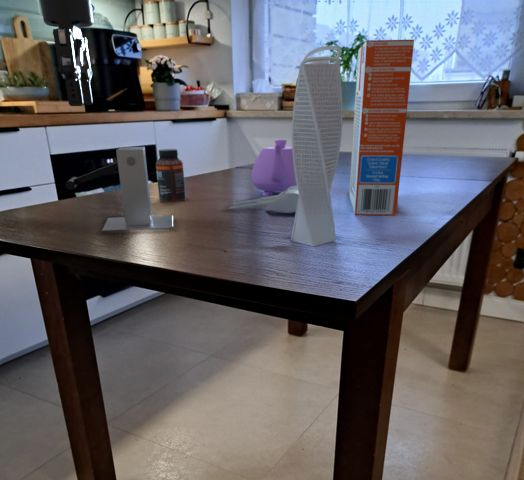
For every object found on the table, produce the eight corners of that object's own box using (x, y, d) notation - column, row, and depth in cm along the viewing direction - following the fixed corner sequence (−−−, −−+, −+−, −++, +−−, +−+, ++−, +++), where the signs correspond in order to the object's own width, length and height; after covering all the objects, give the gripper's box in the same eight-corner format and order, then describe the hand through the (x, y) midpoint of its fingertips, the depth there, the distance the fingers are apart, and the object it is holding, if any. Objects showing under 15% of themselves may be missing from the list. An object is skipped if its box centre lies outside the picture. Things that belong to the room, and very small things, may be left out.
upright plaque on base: (102, 237, 89) (90, 152, 82) (109, 224, 97) (98, 146, 91) (173, 234, 90) (166, 150, 84) (173, 221, 99) (166, 144, 93)
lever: (69, 193, 87) (62, 180, 86) (74, 189, 91) (67, 175, 90) (141, 165, 87) (135, 150, 86) (143, 161, 91) (137, 148, 90)
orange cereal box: (396, 215, 102) (414, 39, 89) (354, 215, 103) (366, 40, 90) (383, 195, 123) (396, 49, 109) (349, 195, 123) (358, 50, 110)
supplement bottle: (189, 200, 119) (185, 148, 114) (181, 205, 114) (177, 150, 109) (164, 200, 120) (160, 148, 115) (155, 205, 115) (150, 150, 110)
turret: (236, 216, 113) (231, 194, 111) (327, 203, 109) (324, 180, 107) (226, 226, 104) (221, 202, 102) (325, 213, 100) (322, 188, 98)
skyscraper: (313, 232, 90) (319, 47, 78) (347, 240, 85) (359, 44, 73) (281, 240, 85) (282, 45, 73) (314, 249, 80) (322, 41, 68)
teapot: (308, 201, 117) (309, 143, 112) (246, 200, 118) (244, 143, 113) (309, 186, 135) (311, 136, 129) (255, 186, 136) (255, 136, 131)
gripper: (50, -3, 86) (67, 105, 93) (25, -20, 73) (48, 106, 80) (96, -3, 86) (110, 104, 94) (79, -20, 74) (97, 106, 81)
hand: (81, 105), depth 87 cm, fingers open, 8 cm apart
